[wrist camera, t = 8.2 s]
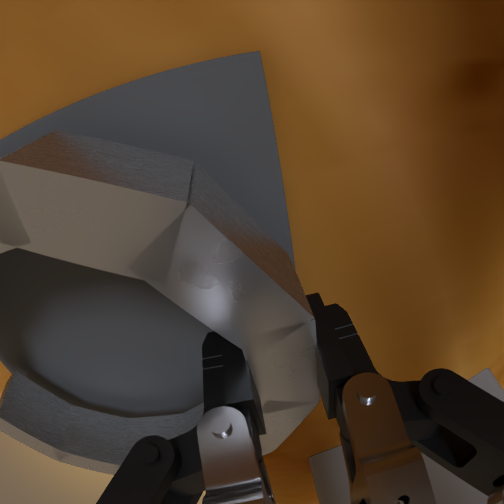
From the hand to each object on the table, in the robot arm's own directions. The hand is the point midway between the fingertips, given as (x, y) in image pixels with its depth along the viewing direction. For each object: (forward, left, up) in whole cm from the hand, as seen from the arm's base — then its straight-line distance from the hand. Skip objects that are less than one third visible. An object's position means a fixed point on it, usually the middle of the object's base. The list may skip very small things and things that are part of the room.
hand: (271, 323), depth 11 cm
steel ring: (0, -7, -1) cm, 7 cm away
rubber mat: (0, -7, -3) cm, 8 cm away
